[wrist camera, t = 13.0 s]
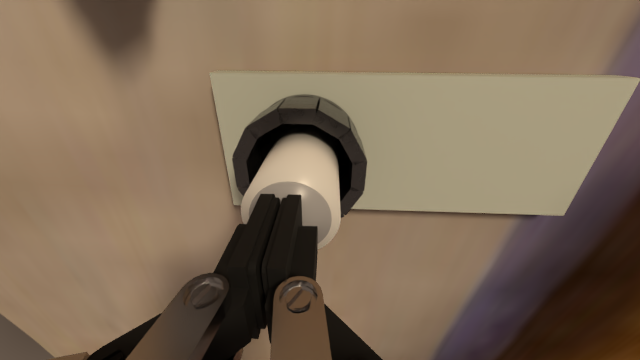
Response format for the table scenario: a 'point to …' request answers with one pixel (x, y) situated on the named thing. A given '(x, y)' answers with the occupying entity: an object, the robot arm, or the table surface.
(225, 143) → the board
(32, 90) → the table surface
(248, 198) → the cylinder
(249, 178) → the black faceted cup
